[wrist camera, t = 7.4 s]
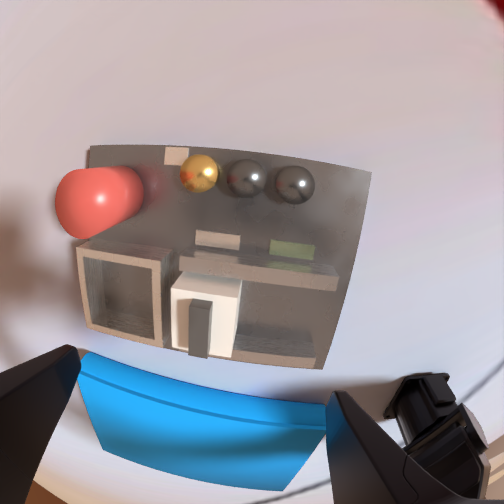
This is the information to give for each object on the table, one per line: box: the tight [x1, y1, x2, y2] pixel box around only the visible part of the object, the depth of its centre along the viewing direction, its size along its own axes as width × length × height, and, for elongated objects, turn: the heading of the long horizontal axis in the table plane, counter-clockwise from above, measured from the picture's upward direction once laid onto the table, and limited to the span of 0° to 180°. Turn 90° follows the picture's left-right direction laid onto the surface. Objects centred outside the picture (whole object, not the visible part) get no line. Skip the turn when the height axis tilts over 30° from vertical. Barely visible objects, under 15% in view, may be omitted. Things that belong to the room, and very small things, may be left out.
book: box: [77, 352, 326, 491], centre depth 26 cm, size 17×4×25 cm
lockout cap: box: [55, 166, 144, 239], centre depth 16 cm, size 4×4×5 cm
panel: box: [76, 145, 372, 369], centre depth 19 cm, size 16×20×4 cm
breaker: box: [171, 271, 242, 359], centre depth 18 cm, size 4×4×4 cm
